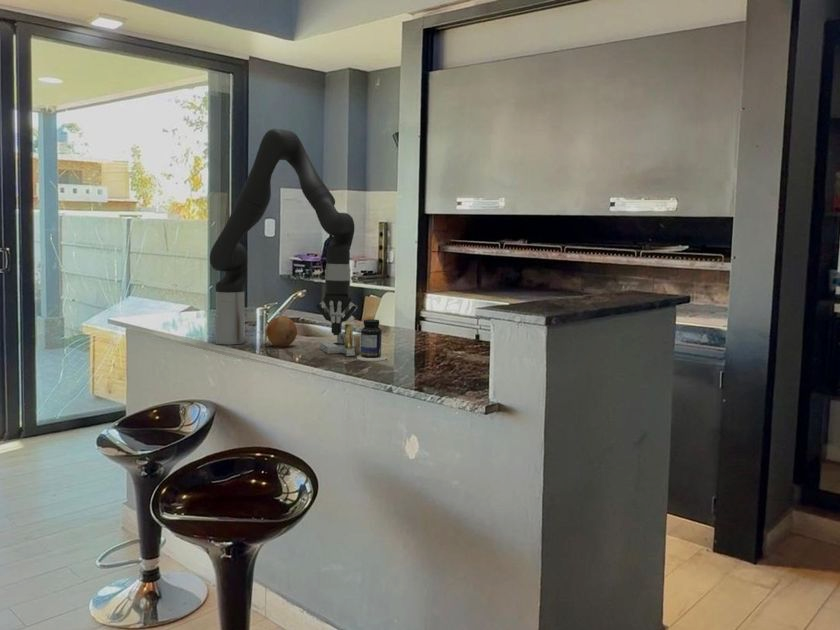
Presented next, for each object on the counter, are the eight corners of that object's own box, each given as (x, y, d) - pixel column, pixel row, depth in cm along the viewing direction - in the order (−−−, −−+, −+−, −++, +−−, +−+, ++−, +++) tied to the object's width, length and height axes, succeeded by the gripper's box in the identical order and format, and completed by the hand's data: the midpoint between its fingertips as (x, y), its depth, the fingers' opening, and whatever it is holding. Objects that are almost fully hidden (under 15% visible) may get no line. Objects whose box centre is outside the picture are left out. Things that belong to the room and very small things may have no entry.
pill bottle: (370, 354, 235) (371, 318, 234) (385, 356, 232) (386, 320, 230) (356, 356, 231) (357, 320, 229) (371, 359, 227) (372, 322, 225)
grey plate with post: (319, 347, 248) (319, 319, 247) (355, 346, 252) (355, 318, 251) (331, 356, 232) (331, 326, 231) (370, 355, 236) (370, 325, 235)
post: (337, 351, 243) (337, 332, 242) (336, 350, 246) (336, 331, 245) (347, 351, 243) (347, 332, 242) (346, 350, 246) (346, 331, 246)
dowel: (354, 356, 235) (354, 336, 234) (353, 355, 236) (354, 336, 236) (360, 356, 235) (360, 336, 234) (359, 355, 237) (359, 336, 236)
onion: (285, 343, 258) (285, 313, 257) (303, 346, 251) (303, 316, 250) (260, 346, 251) (260, 315, 250) (278, 349, 244) (278, 318, 243)
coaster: (358, 361, 226) (358, 359, 226) (355, 356, 235) (355, 354, 235) (388, 361, 227) (388, 359, 227) (385, 356, 236) (385, 354, 236)
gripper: (313, 278, 231) (312, 335, 233) (356, 280, 229) (354, 337, 231) (319, 276, 238) (318, 332, 240) (361, 278, 236) (360, 334, 238)
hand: (336, 334), depth 236 cm, fingers closed
